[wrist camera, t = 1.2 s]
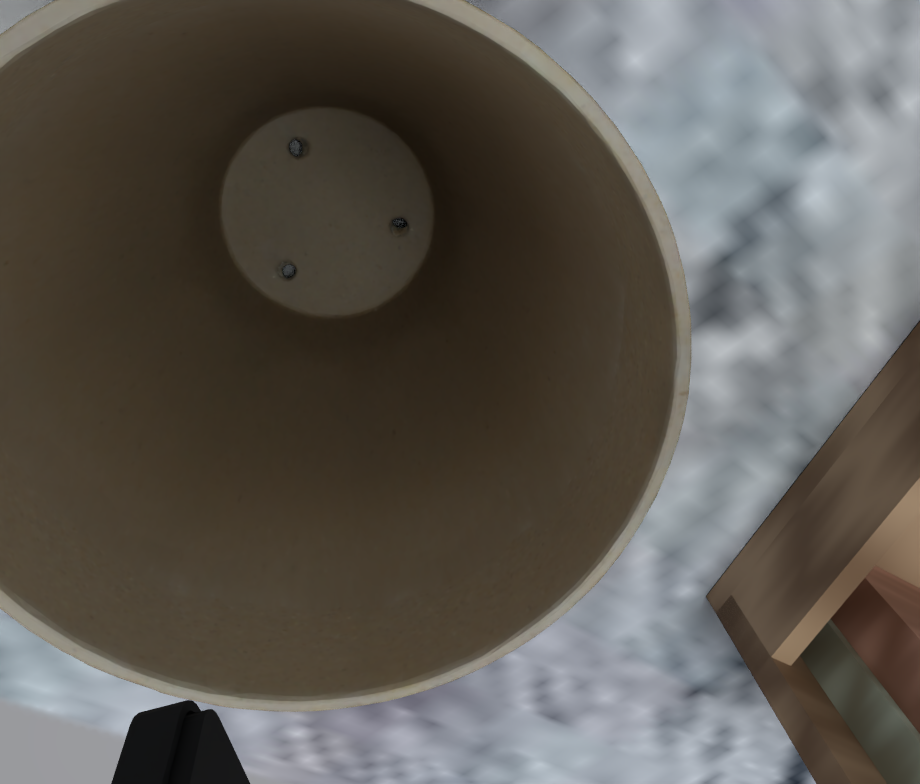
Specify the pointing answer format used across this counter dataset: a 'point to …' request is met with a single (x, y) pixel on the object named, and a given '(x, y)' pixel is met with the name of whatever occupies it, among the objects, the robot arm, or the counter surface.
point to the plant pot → (318, 343)
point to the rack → (843, 592)
